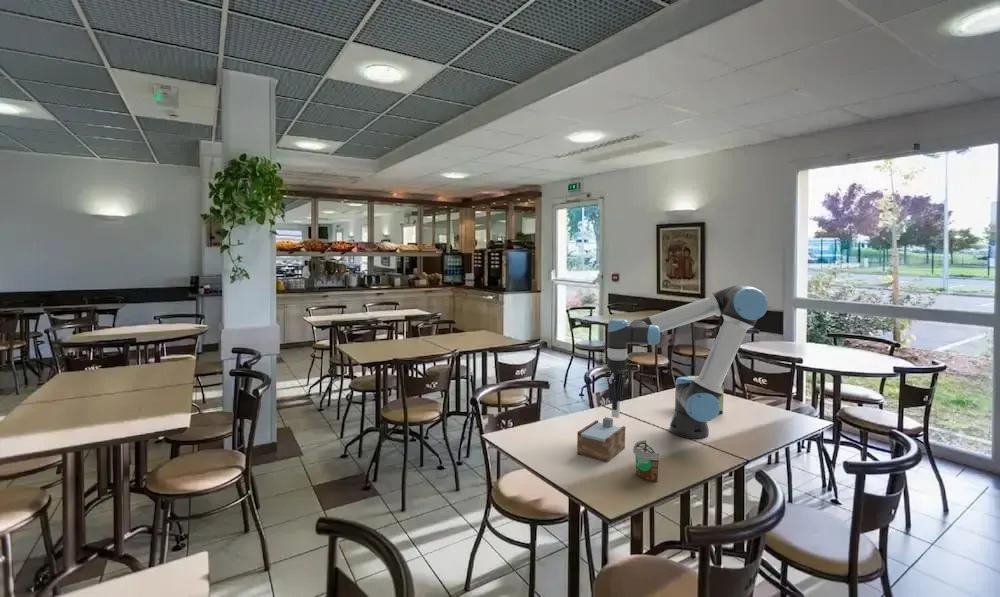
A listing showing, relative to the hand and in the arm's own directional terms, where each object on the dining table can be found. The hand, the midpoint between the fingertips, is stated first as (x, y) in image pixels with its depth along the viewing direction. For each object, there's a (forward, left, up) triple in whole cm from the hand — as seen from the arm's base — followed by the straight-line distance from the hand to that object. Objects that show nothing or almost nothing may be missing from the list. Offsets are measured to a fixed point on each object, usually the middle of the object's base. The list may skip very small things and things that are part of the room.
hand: (615, 416), depth 194 cm
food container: (-20, +24, -10) cm, 33 cm away
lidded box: (0, +13, -10) cm, 16 cm away
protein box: (-18, -60, -10) cm, 64 cm away
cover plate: (0, +13, -3) cm, 13 cm away
